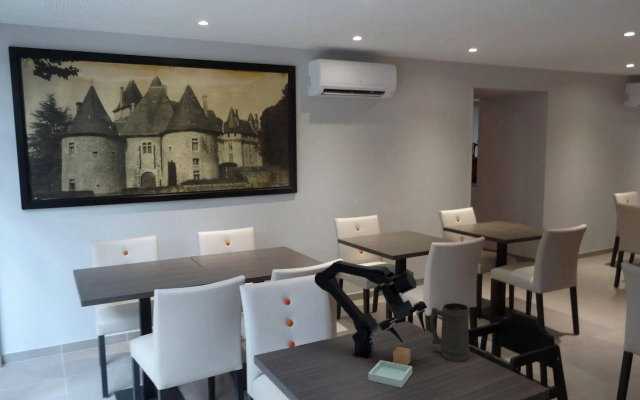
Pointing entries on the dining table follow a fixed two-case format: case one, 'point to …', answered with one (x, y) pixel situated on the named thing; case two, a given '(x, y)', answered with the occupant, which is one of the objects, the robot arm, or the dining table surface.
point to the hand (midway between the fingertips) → (413, 336)
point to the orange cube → (401, 356)
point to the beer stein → (452, 331)
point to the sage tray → (390, 373)
